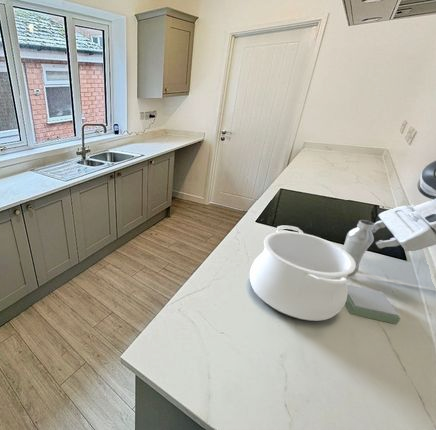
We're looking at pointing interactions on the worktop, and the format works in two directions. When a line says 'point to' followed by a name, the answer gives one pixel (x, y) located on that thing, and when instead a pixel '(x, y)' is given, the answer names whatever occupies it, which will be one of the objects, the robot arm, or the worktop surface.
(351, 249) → the plastic bottle
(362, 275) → the worktop surface
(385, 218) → the robot arm
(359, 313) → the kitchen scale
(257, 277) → the pot
